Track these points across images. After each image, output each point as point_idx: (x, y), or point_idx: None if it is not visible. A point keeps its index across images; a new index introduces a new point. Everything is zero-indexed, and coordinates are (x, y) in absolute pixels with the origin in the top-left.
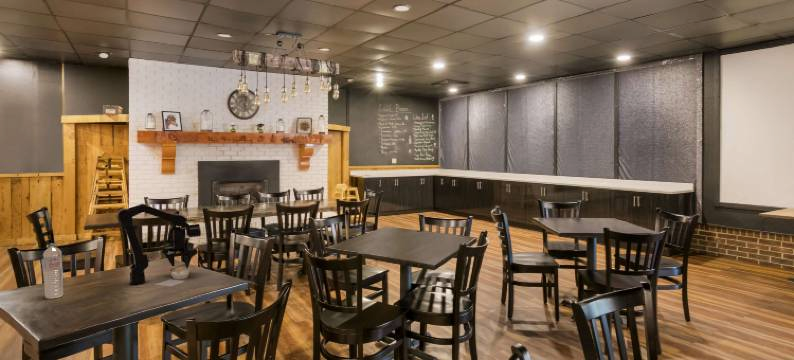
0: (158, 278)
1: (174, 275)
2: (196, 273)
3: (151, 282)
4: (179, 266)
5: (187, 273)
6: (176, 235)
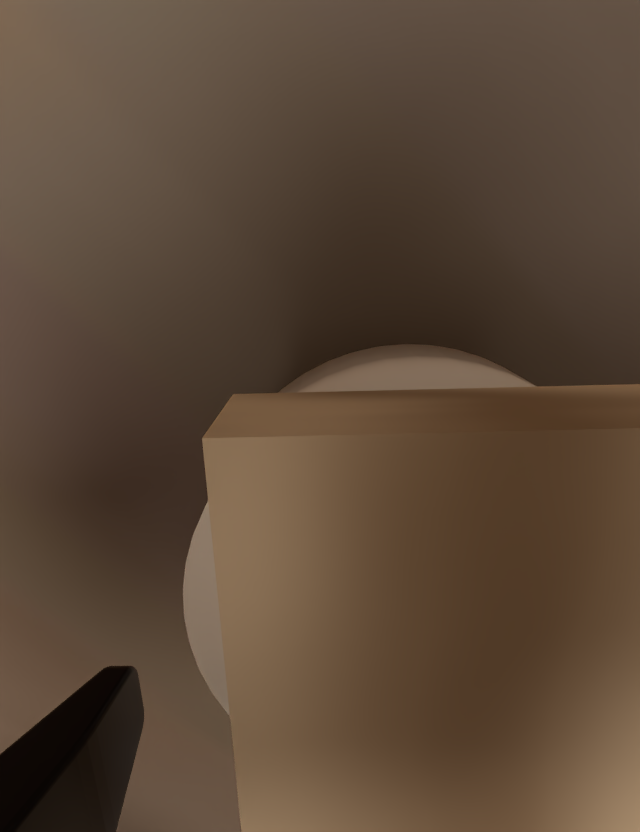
0: (17, 636)
1: None
2: (452, 6)
3: (138, 814)
4: (474, 756)
5: None
6: None
